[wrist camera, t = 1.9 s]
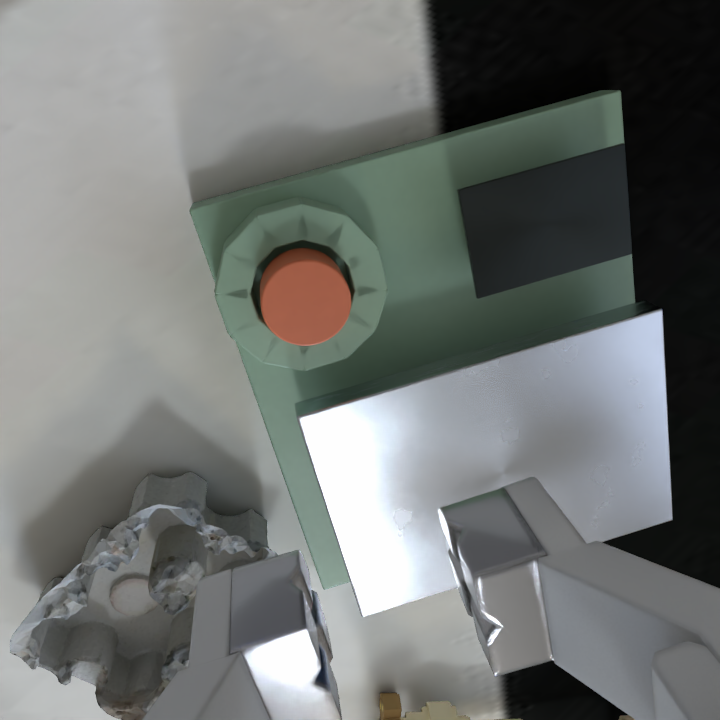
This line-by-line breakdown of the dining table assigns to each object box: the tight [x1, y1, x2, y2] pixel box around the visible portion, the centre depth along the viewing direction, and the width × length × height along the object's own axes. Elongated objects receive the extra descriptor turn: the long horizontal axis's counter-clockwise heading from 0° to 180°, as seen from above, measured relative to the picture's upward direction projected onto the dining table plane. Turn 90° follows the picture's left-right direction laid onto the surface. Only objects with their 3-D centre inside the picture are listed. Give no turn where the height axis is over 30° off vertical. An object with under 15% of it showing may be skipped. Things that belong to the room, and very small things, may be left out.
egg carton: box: [10, 471, 278, 720], centre depth 28 cm, size 11×8×4 cm
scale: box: [190, 90, 635, 590], centre depth 26 cm, size 18×16×3 cm
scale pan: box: [295, 143, 673, 617], centre depth 25 cm, size 16×14×1 cm
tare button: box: [260, 248, 351, 346], centre depth 22 cm, size 3×3×2 cm
